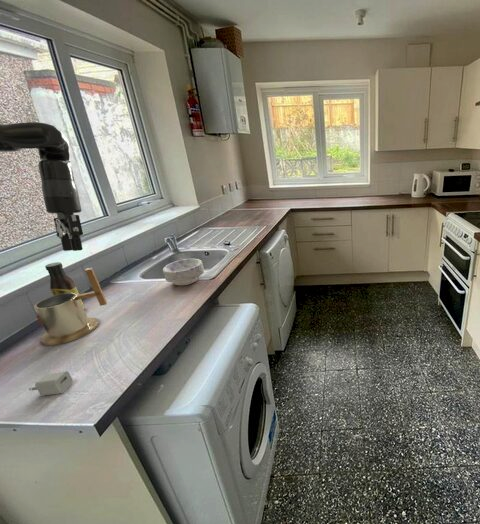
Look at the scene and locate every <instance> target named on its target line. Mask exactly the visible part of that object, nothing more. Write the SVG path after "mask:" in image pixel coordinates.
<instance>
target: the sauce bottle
mask: <svg viewBox="0 0 480 524" xmlns="http://www.w3.org/2000/svg"><path fill="white" fill-rule="evenodd" d="M45 270H46V271H47V273H48V274H49V275H48V276H49V277H50V281H49V282H50V283H49V289H50V291H51V294H52V296H56V295H60V294H65V293H76V294H77V295H79V294H80V293H79V290H78V289H77V285H76V284H75V282H74V280H73V279H72V277H70V276H68V275H67V273H66V272H65V269H64V267H63V264H62V262H59V261H57V262H55V261H54V262H51V263H47V264H46V265H45ZM80 302H81V304H82V306H83V308H84V310H85V311H86V308H85V305H84V303H83V299H80Z"/></svg>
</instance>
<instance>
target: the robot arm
mask: <svg viewBox="0 0 480 524" xmlns="http://www.w3.org/2000/svg"><path fill="white" fill-rule="evenodd" d="M25 149H27V150H28V149H29V150H30V149H37V150H38V155H39V161H38V164H37V166H38V172H39V177H40V181H41V192H42V196H43V200H44V206H45V211H46V212H47V213H48V214H55V215H56V216H57V217H53V222H54V228H55V232H56V237H57V238H58V239H60V243H61V247H62V251H64V252H69V251H73V252H77V251H79V252H80V251H82V250H83V249H84V248H83V244H82V239H81V238H82V236H83V235H84V232H83V231H84V230H83V227H82V223H81V218H80V215H79V214H80V213H81V212H82V206H81V205H82V204H81V200H80V197H79V191H78V187H77V185H76V182H75V177H74V171H73V168H72V164H71V149H70V144H69V141H68V139H67V137H66V136H65V134H63V132H62V131H61V130H60V129H59V128H58V127H56V126H55V125H53V124H50V123H47V122H37V121H29V122H27V121H26V122H16V123H9V124H7V123H6V124H5V123H4V124H3V123H2V124H1V123H0V153H16V152H20V151H22V150H25ZM78 213H79V214H78Z"/></svg>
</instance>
